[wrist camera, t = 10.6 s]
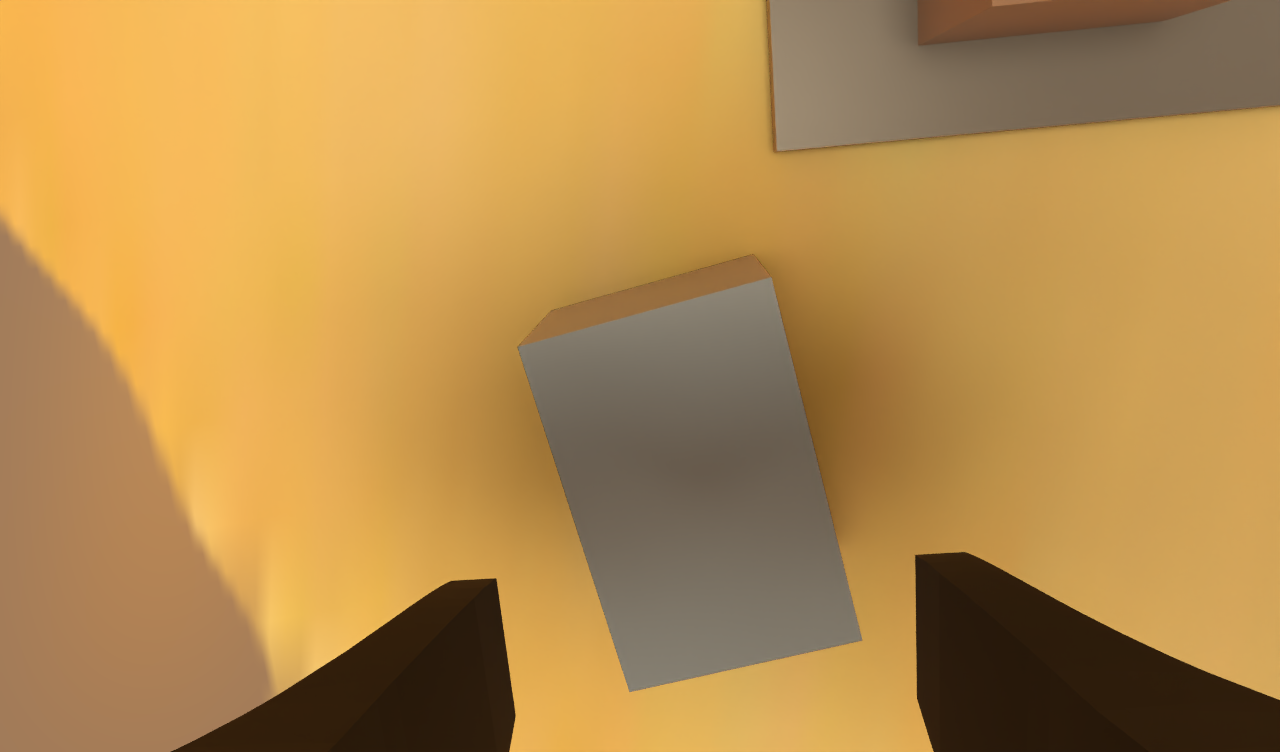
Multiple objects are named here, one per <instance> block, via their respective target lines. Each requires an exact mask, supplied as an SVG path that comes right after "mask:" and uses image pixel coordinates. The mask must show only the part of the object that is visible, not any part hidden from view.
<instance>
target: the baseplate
mask: <svg viewBox="0 0 1280 752" xmlns="http://www.w3.org/2000/svg"><path fill="white" fill-rule="evenodd" d="M766 3H767V24H768V44H769V65H770V85H771V106H772V126H773V146H774V152H778V151H789V150H800V149H811V148H822V147H833V146H844V145H854V144H865V143H876V142H887V141H898V140H909V139H920V138H931V137H942V136H953V135H964V134H975V133H986V132H996V131H1007V130H1018V129H1029V128H1040V127H1051V126H1062V125H1073V124H1084V123H1095V122H1106V121H1117V120H1128V119H1138V118H1149V117H1160V116H1171V115H1182V114H1193V113H1204V112H1215V111H1226V110H1237V109H1248V108H1259V107H1270V106H1280V0H1231V1H1227V2H1224V3H1221V4H1218V5H1214V6H1211V7H1208V8H1205V9H1201V10H1198V11H1195V12H1192V13H1188V14H1185V15H1182V16H1179V17H1175V18H1172V19H1169V20H1166V21H1160V22H1150V23H1140V24H1130V25H1120V26H1110V27H1100V28H1090V29H1080V30H1070V31H1060V32H1050V33H1040V34H1030V35H1020V36H1010V37H1000V38H990V39H980V40H970V41H960V42H950V43H940V44H930V45H920V46H918V2H917V0H766Z"/></svg>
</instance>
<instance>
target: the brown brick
mask: <svg viewBox="0 0 1280 752" xmlns="http://www.w3.org/2000/svg"><path fill="white" fill-rule="evenodd" d="M1227 1H1231V0H917V2H918V46H920V45H930V44H940V43H950V42H960V41H970V40H980V39H990V38H1000V37H1010V36H1020V35H1030V34H1040V33H1050V32H1060V31H1070V30H1080V29H1090V28H1100V27H1110V26H1120V25H1130V24H1140V23H1150V22H1160V21H1166V20H1169V19H1172V18H1175V17H1179V16H1182V15H1185V14H1188V13H1192V12H1195V11H1198V10H1201V9H1205V8H1208V7H1211V6H1214V5H1218V4H1221V3H1224V2H1227Z"/></svg>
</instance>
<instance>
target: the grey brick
mask: <svg viewBox="0 0 1280 752" xmlns="http://www.w3.org/2000/svg"><path fill="white" fill-rule="evenodd" d="M518 350H519V353H520V356H521V359H522V362H523V365H524V369H525V372H526V375H527V378H528V381H529V384H530V387H531V390H532V393H533V396H534V399H535V402H536V405H537V409H538V412H539V415H540V418H541V421H542V424H543V427H544V430H545V433H546V436H547V439H548V442H549V445H550V449H551V452H552V455H553V458H554V461H555V464H556V467H557V470H558V473H559V476H560V479H561V482H562V485H563V489H564V492H565V495H566V498H567V501H568V504H569V507H570V510H571V513H572V516H573V519H574V522H575V525H576V529H577V532H578V535H579V538H580V541H581V544H582V547H583V550H584V553H585V556H586V559H587V562H588V565H589V569H590V572H591V575H592V578H593V581H594V584H595V587H596V590H597V593H598V596H599V599H600V602H601V605H602V609H603V612H604V615H605V618H606V621H607V624H608V627H609V630H610V633H611V636H612V639H613V642H614V645H615V649H616V652H617V655H618V658H619V661H620V664H621V667H622V670H623V673H624V676H625V679H626V682H627V685H628V689H629V692H632V691H636V690H641V689H646V688H650V687H655V686H659V685H664V684H668V683H673V682H677V681H682V680H686V679H691V678H695V677H700V676H704V675H709V674H713V673H718V672H722V671H727V670H731V669H736V668H740V667H745V666H749V665H754V664H758V663H763V662H767V661H772V660H776V659H781V658H785V657H790V656H794V655H799V654H804V653H808V652H813V651H817V650H822V649H826V648H831V647H835V646H840V645H844V644H849V643H853V642H858V641H862V637H861V633H860V629H859V625H858V621H857V617H856V613H855V609H854V605H853V601H852V597H851V593H850V589H849V585H848V581H847V577H846V573H845V569H844V565H843V561H842V557H841V553H840V549H839V545H838V541H837V537H836V533H835V529H834V525H833V521H832V517H831V513H830V509H829V505H828V501H827V497H826V493H825V489H824V485H823V481H822V477H821V473H820V469H819V465H818V461H817V457H816V453H815V449H814V445H813V441H812V437H811V433H810V429H809V425H808V421H807V417H806V413H805V409H804V405H803V401H802V397H801V393H800V389H799V385H798V381H797V377H796V373H795V369H794V365H793V361H792V357H791V354H790V350H789V346H788V342H787V338H786V334H785V330H784V326H783V322H782V318H781V314H780V310H779V306H778V302H777V298H776V294H775V290H774V286H773V282H772V278H771V276H770V275H769V274H768V272H767V271H766V270H765V268H764V267H763V266H762V265H761V263H760V262H759V261H758V260H757V258H756V257H755V256H754V255H753V254H752V255H749V256H745V257H741V258H738V259H734V260H731V261H727V262H724V263H720V264H716V265H713V266H709V267H706V268H702V269H698V270H695V271H691V272H688V273H684V274H680V275H677V276H673V277H670V278H666V279H663V280H659V281H655V282H652V283H648V284H645V285H641V286H637V287H634V288H630V289H627V290H623V291H619V292H616V293H612V294H609V295H605V296H602V297H598V298H594V299H591V300H587V301H584V302H580V303H576V304H573V305H569V306H566V307H562V308H558V309H555V310H551V311H550V313H549V314H548V315H547V316H546V317H545V318H544V319H543V320H542V321H541V322H540V323H539V324H538V325H537V327H536V328H535V329H534V330H533V331H532V332H531V333H530V334H529V335H528V336H527V337H526V338H525V339H524V340H523V342H522V343H521V344H520V345H519V346H518Z"/></svg>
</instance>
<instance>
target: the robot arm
mask: <svg viewBox="0 0 1280 752" xmlns="http://www.w3.org/2000/svg"><path fill="white" fill-rule="evenodd" d="M915 566H916V650H917V699H918V703H919V706H920V709H921V713H922V716H923V719H924V722H925V726H926V729H927V732H928V735H929V739H930V742H931V745H932V748H933V751H934V752H1280V700H1278V699H1275V698H1272V697H1270V696H1267V695H1265V694H1262V693H1260V692H1257V691H1254V690H1252V689H1249V688H1247V687H1244V686H1241V685H1239V684H1236V683H1234V682H1231V681H1229V680H1226V679H1223V678H1221V677H1218V676H1216V675H1213V674H1210V673H1208V672H1205V671H1203V670H1201V669H1198V668H1196V667H1194V666H1191V665H1189V664H1187V663H1184V662H1182V661H1180V660H1177V659H1175V658H1173V657H1171V656H1169V655H1166V654H1164V653H1162V652H1160V651H1158V650H1156V649H1154V648H1152V647H1149V646H1147V645H1145V644H1143V643H1141V642H1139V641H1137V640H1134V639H1132V638H1130V637H1128V636H1126V635H1124V634H1122V633H1120V632H1118V631H1116V630H1114V629H1112V628H1110V627H1108V626H1106V625H1104V624H1102V623H1100V622H1098V621H1096V620H1094V619H1092V618H1090V617H1088V616H1086V615H1084V614H1082V613H1080V612H1078V611H1077V610H1075V609H1073V608H1071V607H1069V606H1067V605H1065V604H1064V603H1062V602H1060V601H1058V600H1056V599H1054V598H1052V597H1051V596H1049V595H1047V594H1045V593H1043V592H1041V591H1040V590H1038V589H1036V588H1034V587H1032V586H1030V585H1029V584H1027V583H1025V582H1023V581H1021V580H1020V579H1018V578H1016V577H1014V576H1012V575H1010V574H1009V573H1007V572H1005V571H1003V570H1001V569H999V568H998V567H996V566H994V565H992V564H990V563H988V562H986V561H984V560H982V559H980V558H978V557H976V556H973V555H971V554H968V553H966V552H959V553H941V554H923V555H915ZM515 716H516V715H515V708H514V701H513V694H512V687H511V680H510V672H509V665H508V658H507V651H506V644H505V637H504V630H503V623H502V616H501V608H500V601H499V594H498V587H497V580H496V578H495V579H477V580H459V581H450V582H448V583H446V584H444V585H442V586H440V587H439V588H437V589H436V590H434V591H432V592H431V593H429V594H428V595H426V596H425V597H423V598H422V599H420V600H419V601H417V602H416V603H415V604H413V605H412V606H410V607H409V608H407V609H406V610H404V611H403V612H402V613H400V614H399V615H397V616H396V617H395V618H393V619H392V620H390V621H389V622H387V623H386V624H385V625H383V626H382V627H380V628H379V629H377V630H376V631H375V632H373V633H372V634H370V635H369V636H367V637H366V638H365V639H363V640H362V641H360V642H359V643H357V644H356V645H355V646H353V647H352V648H350V649H349V650H347V651H346V652H344V653H343V654H341V655H340V656H338V657H337V658H335V659H333V660H332V661H330V662H329V663H327V664H326V665H324V666H322V667H321V668H319V669H318V670H316V671H315V672H313V673H312V674H310V675H308V676H307V677H305V678H304V679H302V680H301V681H299V682H298V683H296V684H294V685H293V686H291V687H290V688H288V689H287V690H285V691H283V692H282V693H280V694H279V695H277V696H275V697H273V698H272V699H270V700H268V701H267V702H265V703H263V704H262V705H260V706H258V707H256V708H254V709H253V710H251V711H249V712H247V713H246V714H244V715H242V716H240V717H238V718H236V719H235V720H233V721H231V722H229V723H227V724H225V725H223V726H221V727H219V728H218V729H216V730H214V731H212V732H210V733H208V734H206V735H204V736H202V737H200V738H198V739H196V740H195V741H192V742H190V743H188V744H186V745H184V746H182V747H180V748H178V749H176V750H174V751H171V752H509V750H510V744H511V739H512V733H513V727H514V722H515Z"/></svg>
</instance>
